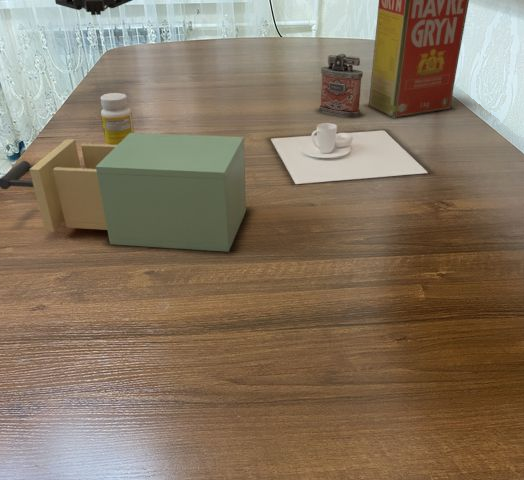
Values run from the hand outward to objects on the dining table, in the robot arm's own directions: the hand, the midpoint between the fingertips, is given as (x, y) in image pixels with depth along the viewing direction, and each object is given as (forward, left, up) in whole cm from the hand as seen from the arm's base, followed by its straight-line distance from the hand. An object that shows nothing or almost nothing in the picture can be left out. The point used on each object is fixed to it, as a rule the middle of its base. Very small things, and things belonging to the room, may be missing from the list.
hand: (95, 7), depth 91 cm
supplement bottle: (+3, -5, -20) cm, 21 cm away
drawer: (+8, -31, -19) cm, 37 cm away
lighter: (+37, +19, -20) cm, 46 cm away
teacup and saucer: (+39, -3, -20) cm, 44 cm away
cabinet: (+20, -31, -20) cm, 42 cm away
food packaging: (+50, +24, -20) cm, 59 cm away
